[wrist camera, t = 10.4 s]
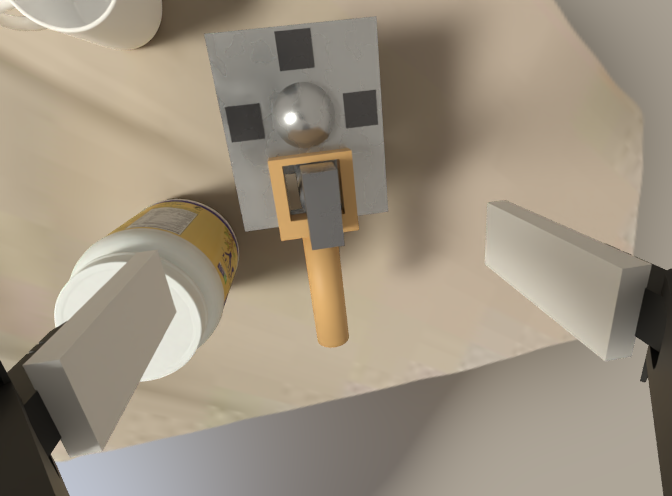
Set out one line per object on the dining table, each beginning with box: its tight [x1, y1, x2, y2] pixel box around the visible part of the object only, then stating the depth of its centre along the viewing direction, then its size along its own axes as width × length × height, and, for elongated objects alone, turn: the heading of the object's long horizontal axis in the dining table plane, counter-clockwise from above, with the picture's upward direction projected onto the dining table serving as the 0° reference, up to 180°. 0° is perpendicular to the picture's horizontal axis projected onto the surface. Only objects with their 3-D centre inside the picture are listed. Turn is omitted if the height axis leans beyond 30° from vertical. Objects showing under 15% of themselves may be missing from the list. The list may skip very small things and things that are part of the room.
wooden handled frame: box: [268, 148, 359, 347], centre depth 34 cm, size 17×6×5 cm, turn 6°
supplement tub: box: [54, 199, 239, 382], centre depth 36 cm, size 12×12×17 cm
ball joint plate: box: [204, 16, 388, 232], centre depth 35 cm, size 15×12×12 cm
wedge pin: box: [295, 161, 345, 250], centre depth 34 cm, size 6×3×16 cm, turn 6°
